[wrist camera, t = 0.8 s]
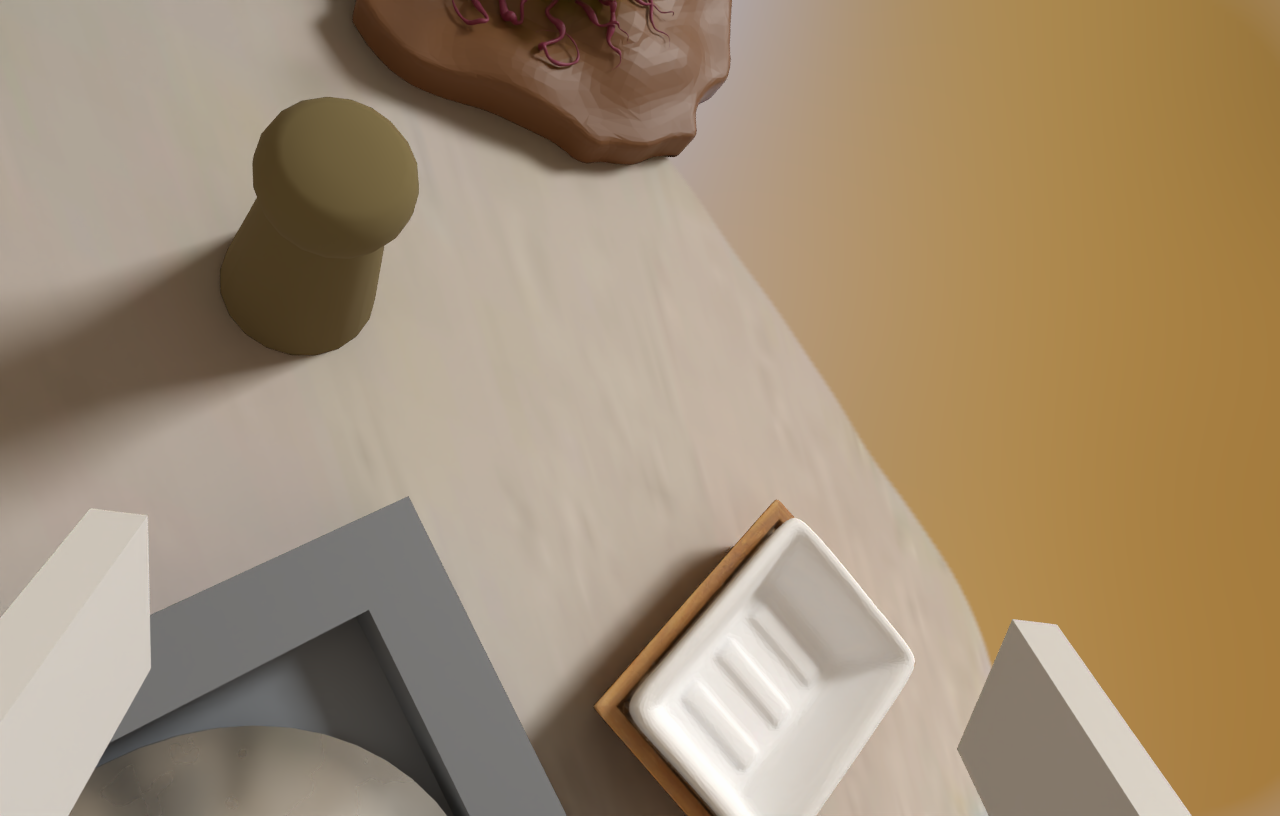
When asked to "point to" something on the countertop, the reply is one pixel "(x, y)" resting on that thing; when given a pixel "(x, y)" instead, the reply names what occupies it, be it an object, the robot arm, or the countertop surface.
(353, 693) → the tray
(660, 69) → the plant
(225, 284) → the cork
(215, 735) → the dial
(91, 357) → the countertop surface
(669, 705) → the soap dish
